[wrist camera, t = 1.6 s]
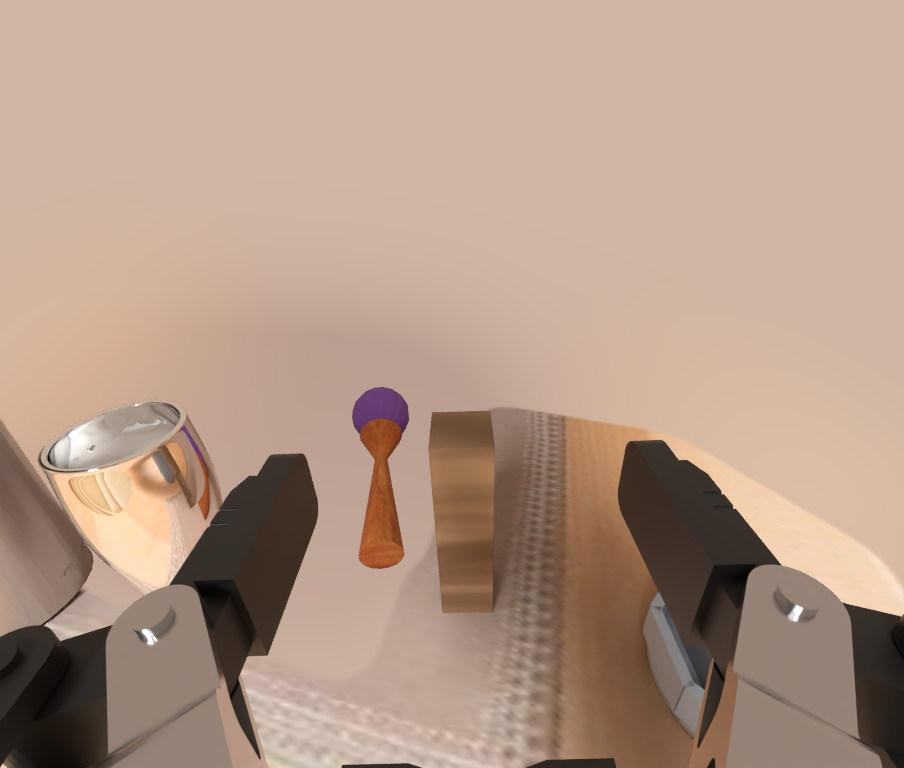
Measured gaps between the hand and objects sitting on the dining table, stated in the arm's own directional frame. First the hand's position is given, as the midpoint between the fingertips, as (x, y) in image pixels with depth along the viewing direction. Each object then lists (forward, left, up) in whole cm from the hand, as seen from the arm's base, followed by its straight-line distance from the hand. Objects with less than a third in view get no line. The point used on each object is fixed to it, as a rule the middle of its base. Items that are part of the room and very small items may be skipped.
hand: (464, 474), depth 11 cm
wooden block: (+4, +10, -20) cm, 23 cm away
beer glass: (-13, +17, -20) cm, 29 cm away
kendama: (+2, +24, -21) cm, 32 cm away
